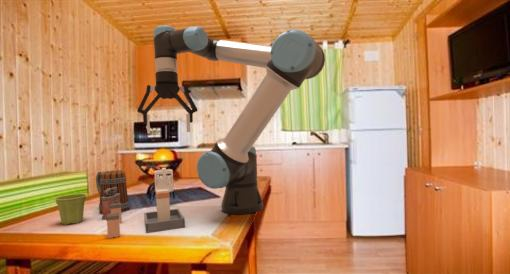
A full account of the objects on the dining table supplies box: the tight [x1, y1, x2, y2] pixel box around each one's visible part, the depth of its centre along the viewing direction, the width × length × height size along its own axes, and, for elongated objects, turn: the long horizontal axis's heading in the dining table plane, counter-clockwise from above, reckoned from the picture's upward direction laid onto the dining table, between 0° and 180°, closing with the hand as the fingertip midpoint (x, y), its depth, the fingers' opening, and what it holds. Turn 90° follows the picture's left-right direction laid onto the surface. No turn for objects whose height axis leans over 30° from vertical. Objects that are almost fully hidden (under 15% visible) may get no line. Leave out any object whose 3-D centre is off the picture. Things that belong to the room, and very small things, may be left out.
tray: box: [143, 208, 186, 234], centre depth 97 cm, size 11×14×3 cm
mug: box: [95, 169, 130, 215], centre depth 119 cm, size 16×11×15 cm
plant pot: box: [54, 193, 88, 225], centre depth 103 cm, size 9×9×9 cm
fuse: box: [155, 189, 171, 222], centre depth 97 cm, size 4×4×10 cm
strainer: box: [154, 167, 174, 193], centre depth 124 cm, size 7×7×15 cm
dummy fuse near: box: [105, 213, 121, 239], centre depth 87 cm, size 3×3×6 cm
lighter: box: [101, 187, 120, 221], centre depth 109 cm, size 8×3×10 cm, turn 168°
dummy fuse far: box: [110, 203, 123, 224], centre depth 101 cm, size 3×3×6 cm
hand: (169, 132), depth 108 cm, fingers open, 13 cm apart
